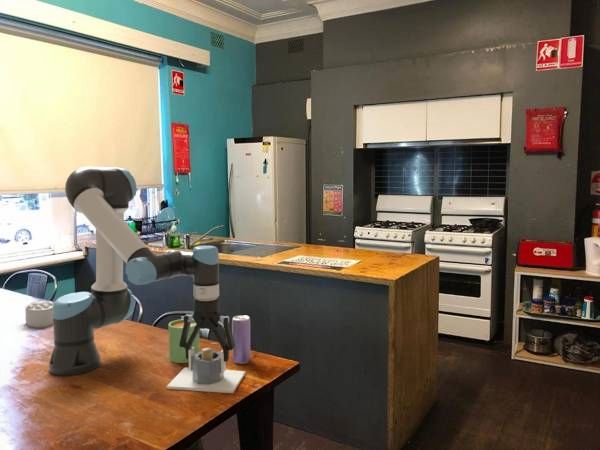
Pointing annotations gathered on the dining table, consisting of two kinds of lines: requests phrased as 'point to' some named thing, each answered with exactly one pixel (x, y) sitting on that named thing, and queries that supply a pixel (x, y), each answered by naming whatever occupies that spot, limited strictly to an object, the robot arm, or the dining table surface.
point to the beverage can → (241, 339)
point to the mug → (175, 332)
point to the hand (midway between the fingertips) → (207, 370)
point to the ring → (207, 369)
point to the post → (207, 353)
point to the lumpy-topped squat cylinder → (39, 314)
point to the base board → (224, 386)
